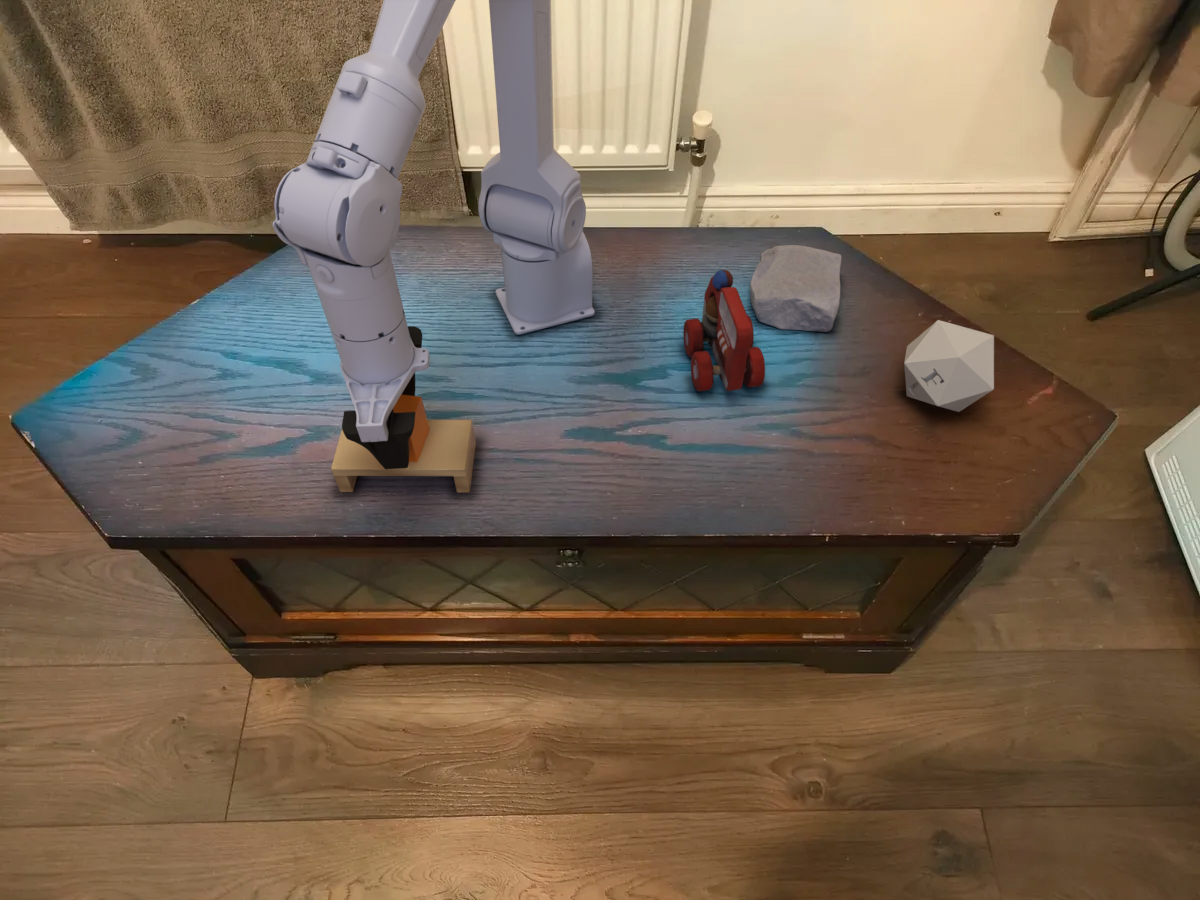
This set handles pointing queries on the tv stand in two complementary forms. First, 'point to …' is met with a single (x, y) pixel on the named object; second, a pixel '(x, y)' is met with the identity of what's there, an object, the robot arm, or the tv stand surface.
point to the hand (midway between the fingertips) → (399, 432)
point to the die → (950, 366)
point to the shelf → (440, 456)
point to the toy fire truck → (723, 339)
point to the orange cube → (420, 426)
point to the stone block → (797, 288)
